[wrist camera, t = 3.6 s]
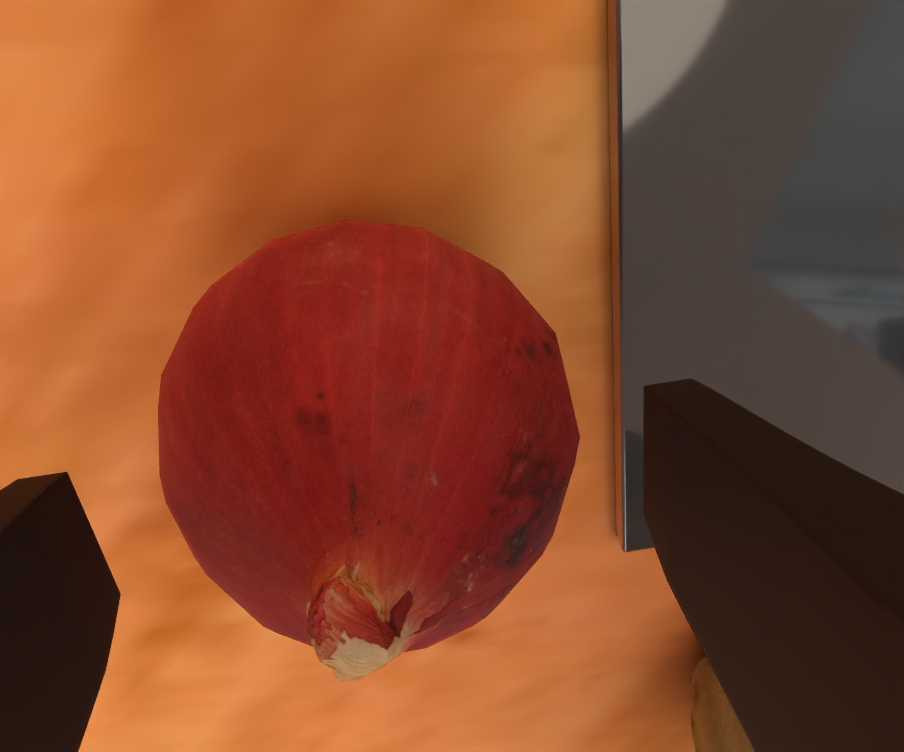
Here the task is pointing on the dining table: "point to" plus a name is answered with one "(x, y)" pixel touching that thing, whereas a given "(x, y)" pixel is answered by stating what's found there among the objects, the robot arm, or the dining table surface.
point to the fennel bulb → (714, 715)
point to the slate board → (759, 222)
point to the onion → (365, 439)
